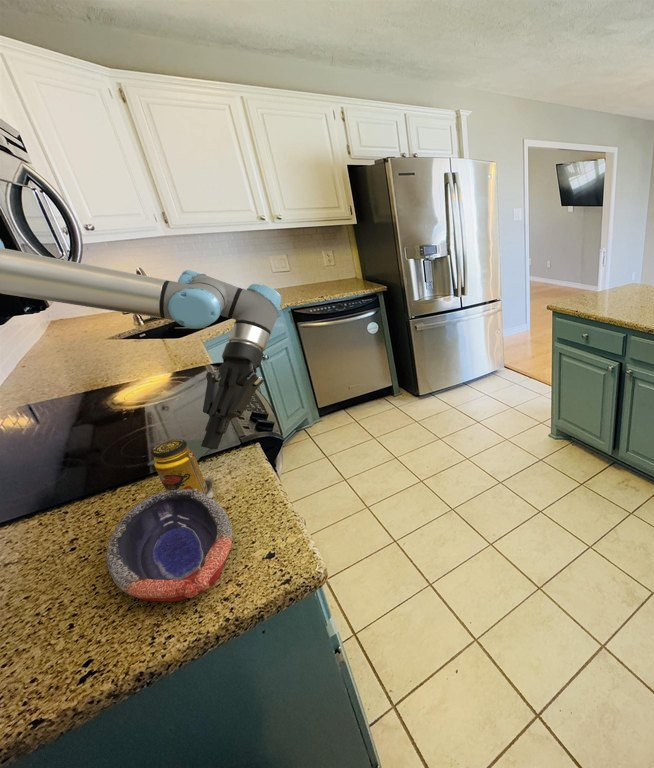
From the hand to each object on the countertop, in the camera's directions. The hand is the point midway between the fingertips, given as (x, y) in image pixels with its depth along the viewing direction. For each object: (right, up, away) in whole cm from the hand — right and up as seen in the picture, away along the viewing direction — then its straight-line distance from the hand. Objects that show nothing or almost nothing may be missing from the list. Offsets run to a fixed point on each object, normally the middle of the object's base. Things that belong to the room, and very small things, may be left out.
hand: (209, 447), depth 86 cm
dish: (+8, -15, -18) cm, 25 cm away
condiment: (-1, -9, -4) cm, 10 cm away
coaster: (-14, -3, +11) cm, 18 cm away
